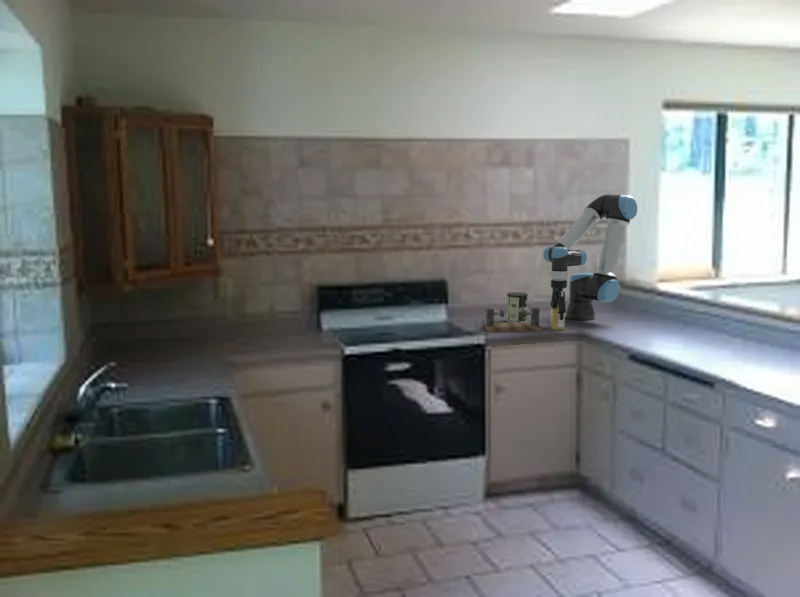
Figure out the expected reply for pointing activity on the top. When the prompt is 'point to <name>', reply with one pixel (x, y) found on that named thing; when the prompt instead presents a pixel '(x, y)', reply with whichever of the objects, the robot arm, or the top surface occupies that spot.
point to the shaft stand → (501, 327)
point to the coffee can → (516, 307)
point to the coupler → (555, 320)
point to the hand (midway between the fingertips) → (557, 323)
